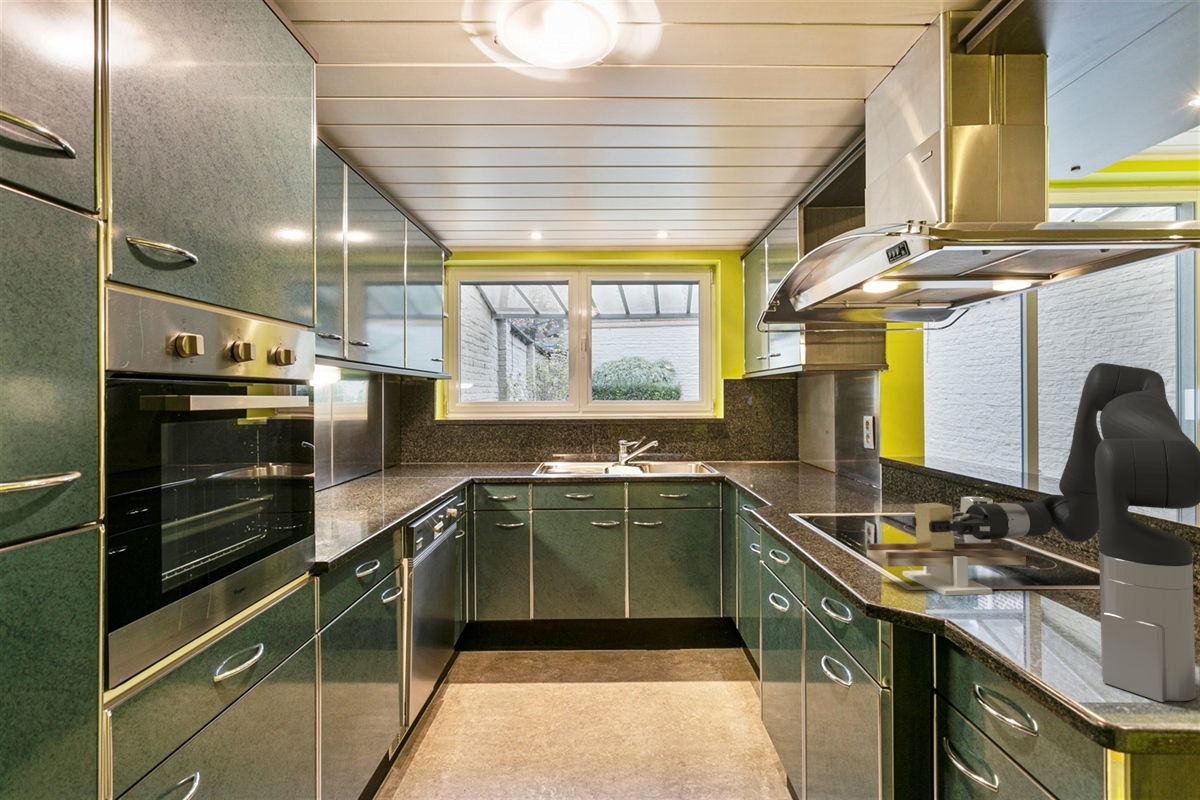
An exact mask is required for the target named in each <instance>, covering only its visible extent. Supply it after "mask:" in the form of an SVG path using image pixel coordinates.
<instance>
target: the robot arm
mask: <svg viewBox="0 0 1200 800" xmlns="http://www.w3.org/2000/svg"><path fill="white" fill-rule="evenodd" d="M1084 381H1085V382H1084V383H1083V387H1082V391H1081V395H1080V399H1079V404H1078V409H1077V413H1076V418H1075V423H1074V427H1073V434H1072V441H1071V444H1070V445H1071V446H1070V451H1069V454H1068V458H1067V461H1066V463H1065V466H1064V469H1063V471H1062V475H1061V477H1060V481H1059V482H1058V483H1059V484H1058V488H1059V490H1060V493H1061V494H1052V495H1049V496H1046V497H1043V498H1040V499H1037V500H1035V501H1031V502H1021V503H1020V502H1018V503H1013V502H1012V503H1011V502H995V503H994V502H993V503H988V504H973V505H971V506H970V507H969V508H968V509H967V511H966V513H965V514H964V512H960V511H954V512H952V514H953V520H948V521H930V522H929V531H930V532H933V533H936V532H948V531H949V533H954V534H957V535H959V536H962V535H963V536H964V535H973V536H974V537H975V538H977V539H980V540H990V539H991V540H1005V539H1006V540H1008V539H1016V538H1021V537H1023V538H1024V537H1040V536H1044V535H1046V534H1048V533H1050V532H1051V530H1052V528H1054V529H1055V530H1056V531H1057V532H1058V533H1059V534H1061V535H1062V536H1063V537H1064V538H1066V539H1067V540H1069V541H1071V542H1075V543H1082V542H1086V541H1088V540H1091V539H1092V538H1093V537H1095V536H1096V534H1097V533H1098V532H1099V534H1098V535H1099V536H1098V537H1099V538H1098V540H1099V541H1098V542H1099V543H1098V545H1099V546H1098V547H1099V548H1098V549H1099V553H1098V554H1099V555H1098V556H1099V559H1098V561H1099V596H1100V598H1099V603H1100V605H1099V606H1100V610H1099V611H1100V647H1101V650H1100V652H1101V675H1102V681H1103V682H1102V683H1104V684H1108V685H1110V686H1114V687H1115V688H1119V689H1122V690H1125V691H1128V692H1131V693H1133V694H1136V695H1139V696H1143V697H1146V698H1148V699H1152V700H1154V701H1158V702H1160V703H1164V702H1166V701H1174V702H1187V701H1191V700H1194V699H1196V695H1197V685H1196V684H1197V683H1196V677H1197V676H1196V651H1195V650H1196V649H1195V647H1196V646H1195V619H1194V618H1195V617H1194V615H1195V614H1194V613H1195V612H1194V609H1195V608H1194V574H1193V573H1194V571H1193V569H1194V568H1193V566H1194V564H1193V561H1194V559H1193V547H1192V545H1191V543H1190V541H1188V540H1187V539H1186V538H1184V537H1182V536H1179V535H1175V534H1174V533H1170V532H1167V531H1165V530H1162V529H1158V528H1156V527H1153V526H1150V525H1149V524H1147V523H1144V522H1143V521H1141V520H1139V519H1138V518H1136V517H1134V516H1133V515H1132V514H1131V513H1130V512H1129V507H1139V508H1153V509H1156V508H1157V509H1169V510H1179V509H1180V510H1182V509H1183V510H1184V509H1191V508H1193V507H1196V506H1198V505H1199V504H1200V449H1199V448H1198V447H1197V445H1196V444H1195V443H1194V442H1193V440H1191V439H1190V438H1189V437H1188V436H1187V435H1186V434H1185V433H1184V432H1183V430H1182V428H1181V425H1180V422H1179V419H1178V417H1177V416H1176V414H1175V411H1173V409H1172V407H1171V406H1170V404H1169V402H1168V399H1167V393H1166V386H1165V381H1164V379H1163V377H1162V375H1161V374H1160V373H1158V372H1157V371H1154V370H1152V369H1148V368H1144V367H1137V366H1136V367H1135V366H1129V365H1122V364H1116V363H1109V362H1108V363H1106V362H1100V363H1097V364H1095V365H1093V367H1092V368H1091V370H1090V371H1089V372H1088V374H1087V377H1086V378H1085V380H1084ZM1098 412H1100V415H1099V426H1100V430H1101V431H1099V428H1098V423H1097V420H1098V419H1097V418H1098ZM1100 432H1101V433H1100ZM1102 438H1103V439H1102ZM911 520H912V521H911V522H912V525H911V526H912V527H914V528H916V523H915V515H914V516H912V519H911Z"/></svg>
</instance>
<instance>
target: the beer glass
mask: <svg viewBox="0 0 1200 800" xmlns="http://www.w3.org/2000/svg"><path fill="white" fill-rule="evenodd" d="M988 503H994V501H993V498H991V497H990V498H989V497H982V496H971V495H970V496H969V495H968V496H961V497H960V508H959V510H960V511H959V512H964V514H965V513H966V511H967V509H968V508H969V507H970V506H971V505H973V504H988ZM963 538H964V543H980V542H992V539H990V540H980V539H977V538H975V537H974V536H973V535H963Z"/></svg>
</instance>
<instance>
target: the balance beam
mask: <svg viewBox="0 0 1200 800" xmlns="http://www.w3.org/2000/svg"><path fill="white" fill-rule="evenodd" d="M954 548H955V551H917V542H910V543H909V542H904V543H902V542H901V543H900V542H898V543H896V542H895V543H894V542H891V543H889V542H888V543H866V557H867V558H869V559H871V560H873V561H875V562H878V563H879V564H881V565H884V566H886V567H888V568H889V567H891V568H893V567H896V568H897V567H923V566H953V556H965V557H968V567H970V566H1022V565H1023V566H1026V565H1027V551H1026V550H1023V549H1022V550H1021V549H1020V550H1019V549H1017V550H1014V549H1012V550H1009V549H1007V550H1005V549H1001V548H1000V543H999V542H994V541H993V542H992V541H991V542H980V543H965V542H954Z"/></svg>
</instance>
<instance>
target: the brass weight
mask: <svg viewBox="0 0 1200 800" xmlns="http://www.w3.org/2000/svg"><path fill="white" fill-rule="evenodd" d="M913 506H914V507H913V508H914V516H915V523H916V527H915V537H916V539H915V540H916V541H915V543H917V551H955V548H954V543H955V536H954V535H955V533H949V531H948V532H936V533H933V532H930V531H929V522H930V521H948V520H953V514H952V513H953V506H952V505H947V504H944V503H940V502H926V503H925V502H923V503H914V505H913Z"/></svg>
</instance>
